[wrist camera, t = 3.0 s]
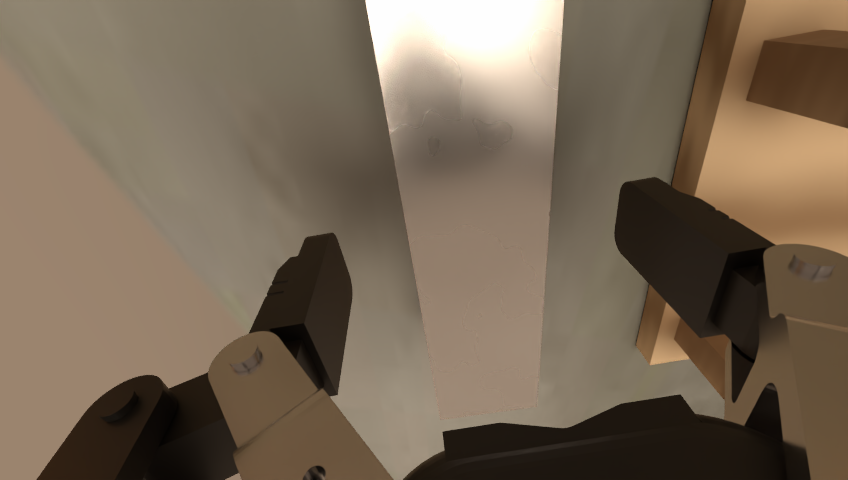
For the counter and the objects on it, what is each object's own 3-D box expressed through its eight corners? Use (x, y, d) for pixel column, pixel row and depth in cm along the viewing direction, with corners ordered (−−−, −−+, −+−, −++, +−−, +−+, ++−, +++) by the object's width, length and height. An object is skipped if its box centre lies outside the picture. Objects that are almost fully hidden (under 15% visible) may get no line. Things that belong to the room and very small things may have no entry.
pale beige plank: (356, -133, 11) (318, -269, 6) (489, -154, 11) (585, -312, 5) (428, 310, 21) (440, 419, 15) (499, 299, 21) (537, 406, 15)
